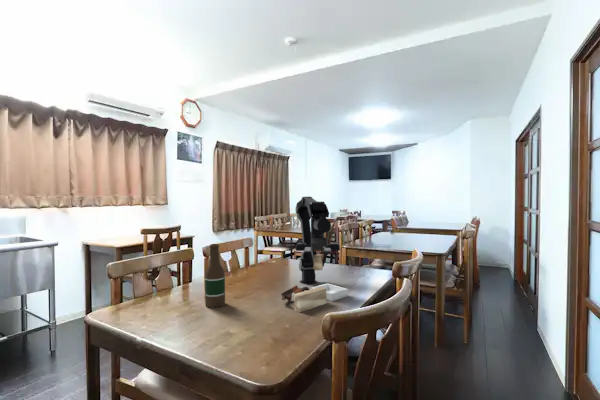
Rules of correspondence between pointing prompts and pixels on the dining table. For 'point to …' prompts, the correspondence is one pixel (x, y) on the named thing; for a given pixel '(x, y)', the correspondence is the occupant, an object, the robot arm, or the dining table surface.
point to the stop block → (309, 299)
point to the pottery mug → (289, 292)
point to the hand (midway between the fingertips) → (318, 266)
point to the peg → (318, 262)
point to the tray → (333, 292)
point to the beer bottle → (214, 280)
